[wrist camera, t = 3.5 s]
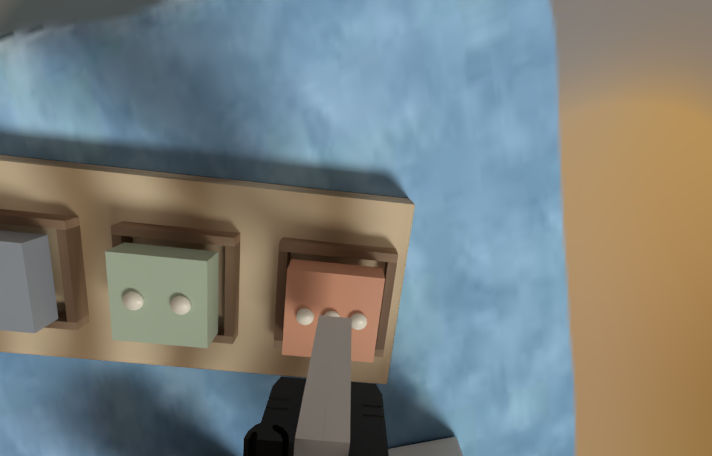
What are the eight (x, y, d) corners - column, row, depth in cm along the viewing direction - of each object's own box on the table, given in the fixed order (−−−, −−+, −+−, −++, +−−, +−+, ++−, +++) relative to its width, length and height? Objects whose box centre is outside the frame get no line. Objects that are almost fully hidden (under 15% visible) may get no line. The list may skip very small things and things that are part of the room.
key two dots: (129, 325, 20) (109, 342, 18) (124, 242, 18) (101, 252, 17) (217, 333, 20) (205, 350, 18) (218, 251, 18) (205, 262, 17)
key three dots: (286, 338, 20) (281, 357, 18) (292, 258, 19) (286, 270, 17) (371, 346, 20) (373, 364, 18) (382, 267, 19) (385, 280, 17)
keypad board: (5, 331, 23) (-45, 359, 20) (-27, 151, 20) (-90, 154, 17) (384, 364, 24) (388, 395, 21) (409, 198, 21) (418, 208, 18)
